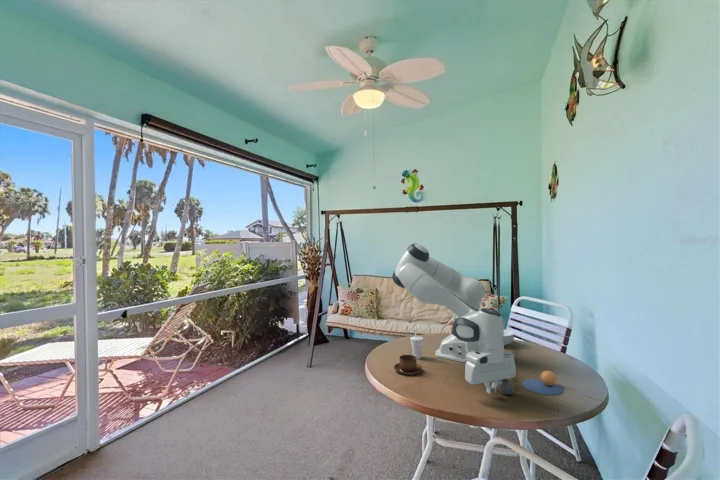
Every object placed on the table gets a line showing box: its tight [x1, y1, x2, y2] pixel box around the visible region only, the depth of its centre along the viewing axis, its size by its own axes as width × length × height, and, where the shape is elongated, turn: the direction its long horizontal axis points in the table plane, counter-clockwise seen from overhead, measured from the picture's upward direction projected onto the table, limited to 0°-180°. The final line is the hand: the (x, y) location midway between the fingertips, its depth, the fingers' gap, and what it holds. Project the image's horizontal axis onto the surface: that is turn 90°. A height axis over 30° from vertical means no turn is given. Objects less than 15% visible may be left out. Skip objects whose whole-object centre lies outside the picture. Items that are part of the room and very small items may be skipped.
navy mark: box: [521, 378, 564, 396], centre depth 130 cm, size 14×14×1 cm
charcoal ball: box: [497, 378, 515, 396], centre depth 125 cm, size 6×6×6 cm
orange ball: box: [540, 370, 557, 386], centre depth 132 cm, size 6×6×6 cm
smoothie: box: [410, 328, 424, 360], centre depth 164 cm, size 6×6×14 cm
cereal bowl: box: [503, 328, 515, 347], centre depth 185 cm, size 17×17×7 cm
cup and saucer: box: [394, 354, 423, 375], centre depth 148 cm, size 12×12×6 cm
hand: (491, 392), depth 123 cm, fingers closed
